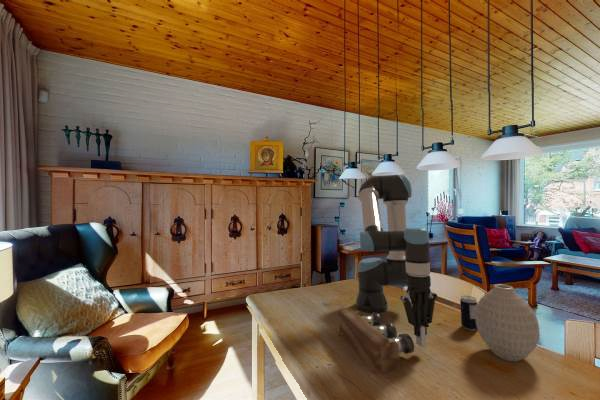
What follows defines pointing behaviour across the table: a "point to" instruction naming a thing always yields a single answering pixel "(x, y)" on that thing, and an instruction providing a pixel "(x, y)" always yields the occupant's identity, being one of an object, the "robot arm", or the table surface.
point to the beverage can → (468, 312)
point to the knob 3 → (403, 343)
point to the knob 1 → (374, 319)
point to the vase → (507, 323)
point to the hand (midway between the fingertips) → (421, 345)
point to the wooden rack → (369, 341)
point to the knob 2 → (388, 329)
